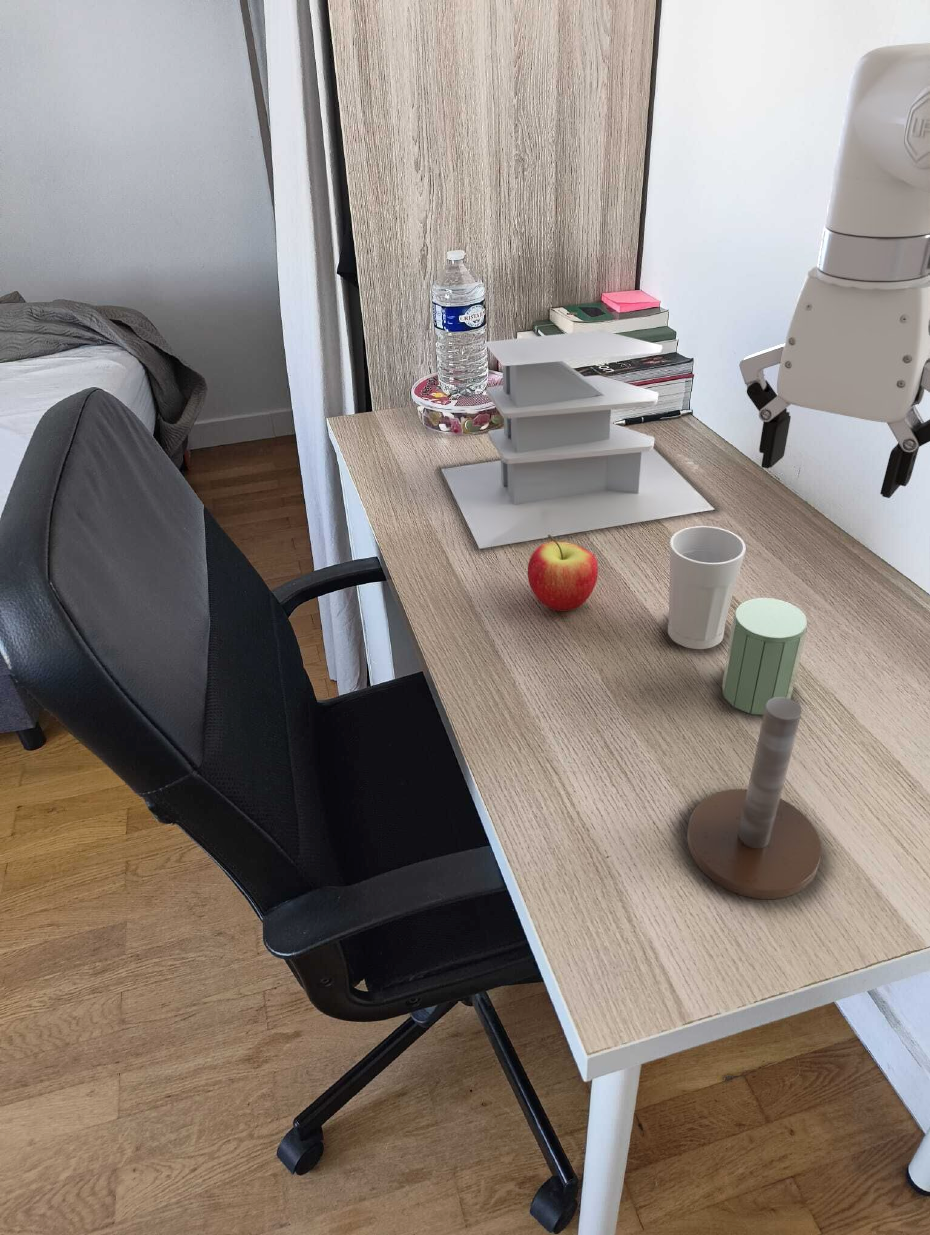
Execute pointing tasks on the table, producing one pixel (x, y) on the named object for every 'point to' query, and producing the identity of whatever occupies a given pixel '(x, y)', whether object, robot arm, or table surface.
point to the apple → (562, 575)
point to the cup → (702, 584)
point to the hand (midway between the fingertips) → (829, 476)
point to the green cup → (763, 653)
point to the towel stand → (758, 821)
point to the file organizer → (566, 448)
